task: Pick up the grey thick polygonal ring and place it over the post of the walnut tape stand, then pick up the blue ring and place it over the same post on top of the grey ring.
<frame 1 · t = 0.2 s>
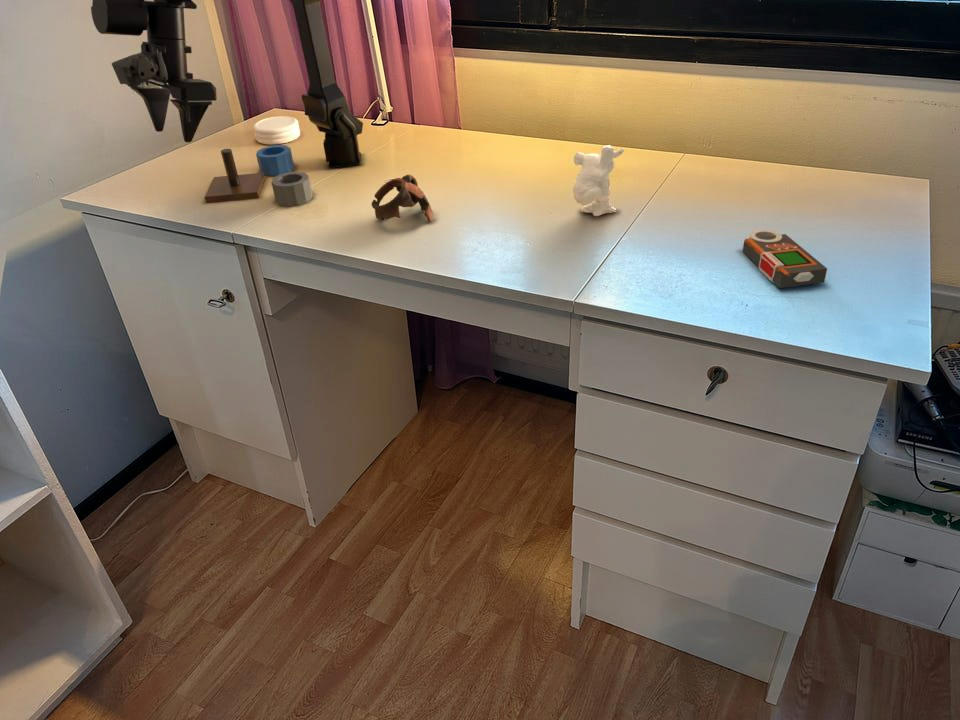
hand: (173, 136, 125), 15 cm above the table, tool pointing down, fingers open, 9 cm apart
brown looped band: (406, 218, 130), on the table
grey thick polygonal ring: (294, 198, 139), on the table
coaster: (278, 138, 168), on the table
electronic device: (777, 265, 110), on the table
blue ring: (277, 169, 152), on the table
tape stand: (236, 190, 144), on the table
koala figurine: (595, 212, 128), on the table
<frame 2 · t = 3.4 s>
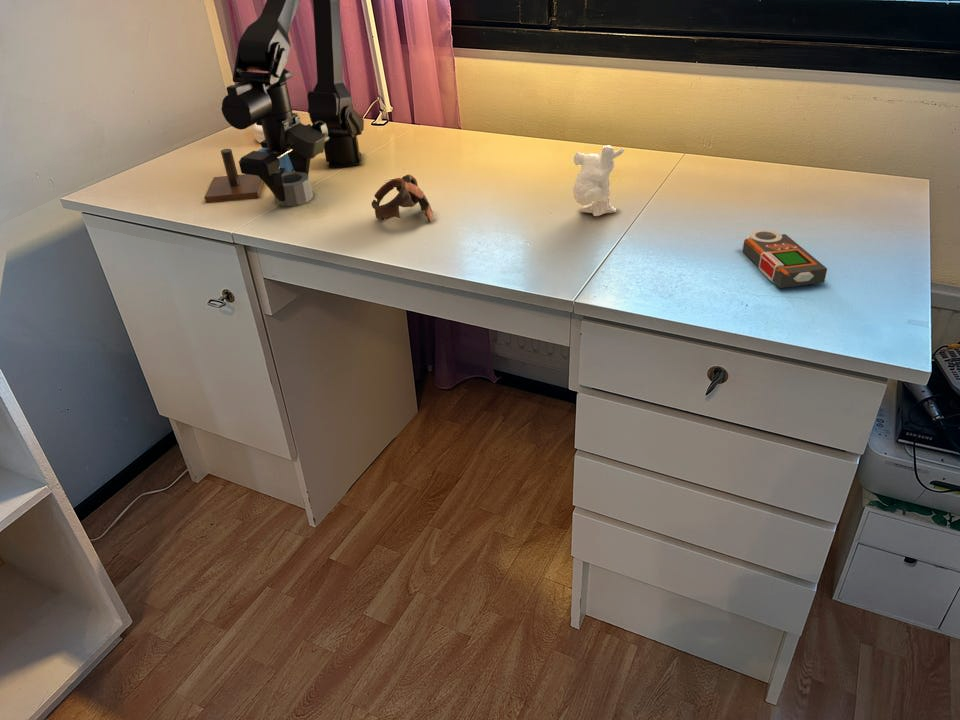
hand: (293, 193, 138), 1 cm above the table, tool pointing down, fingers closed on grey thick polygonal ring, 7 cm apart
grey thick polygonal ring: (294, 198, 139), on the table, touching gripper
everything else where it was.
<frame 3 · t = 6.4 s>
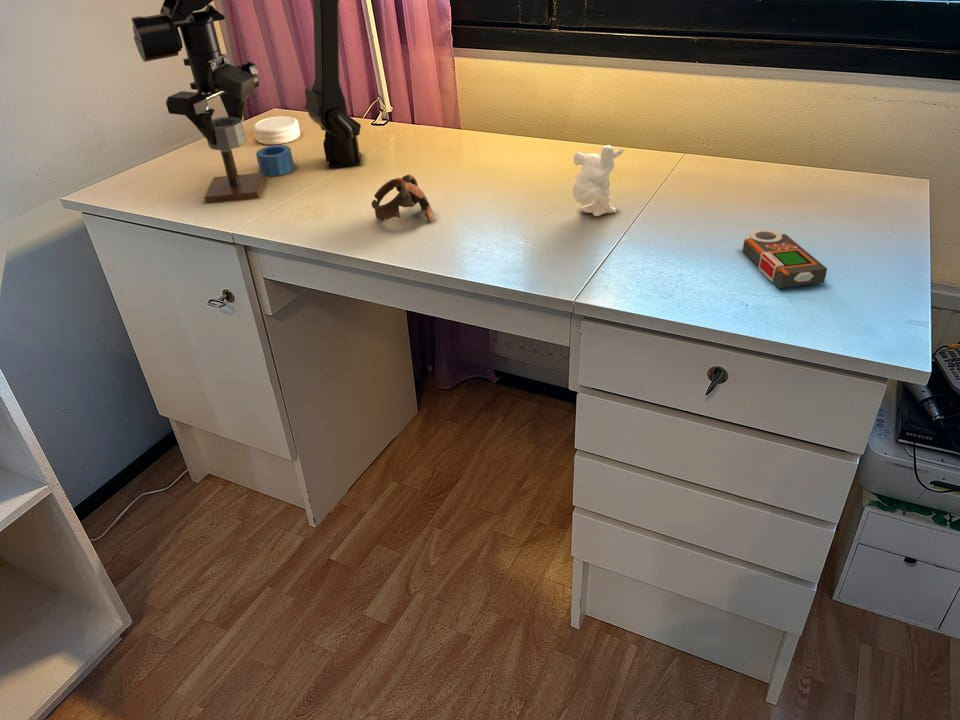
hand: (226, 138, 137), 10 cm above the table, tool pointing down, fingers closed on grey thick polygonal ring, 7 cm apart
grey thick polygonal ring: (227, 143, 138), point 9 cm above the table, touching gripper
everything else where it was.
when the fingers open (2 cm above the table, at t = 9.4 s): grey thick polygonal ring stays where it is, resting on tape stand.
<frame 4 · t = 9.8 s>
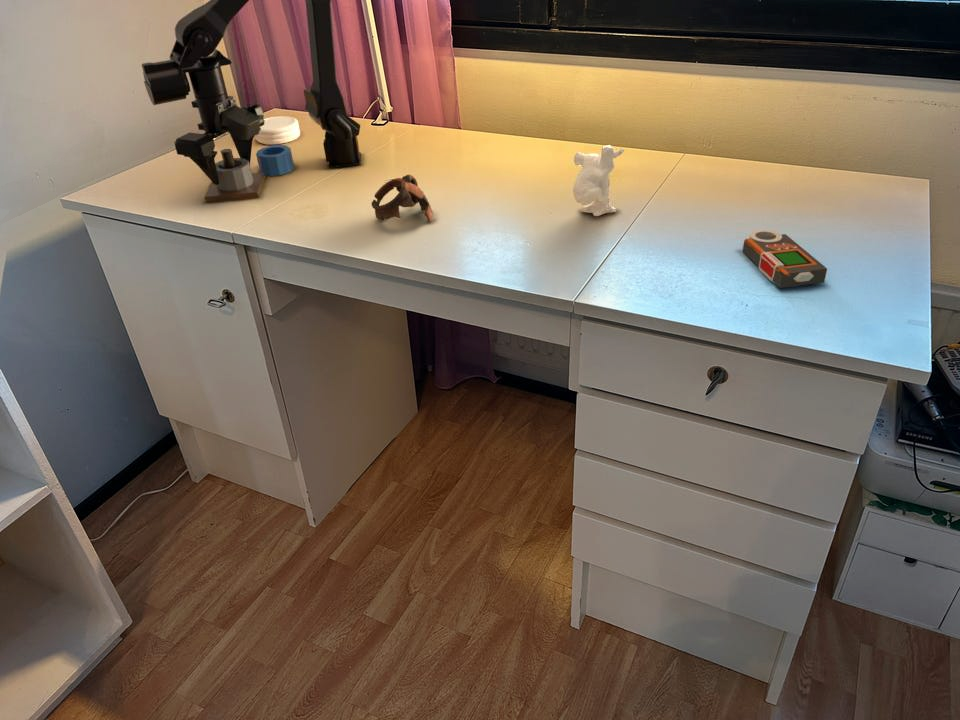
hand: (232, 175, 142), 3 cm above the table, tool pointing down, fingers open, 9 cm apart
grey thick polygonal ring: (235, 184, 143), point 1 cm above the table, touching tape stand
everything else where it was.
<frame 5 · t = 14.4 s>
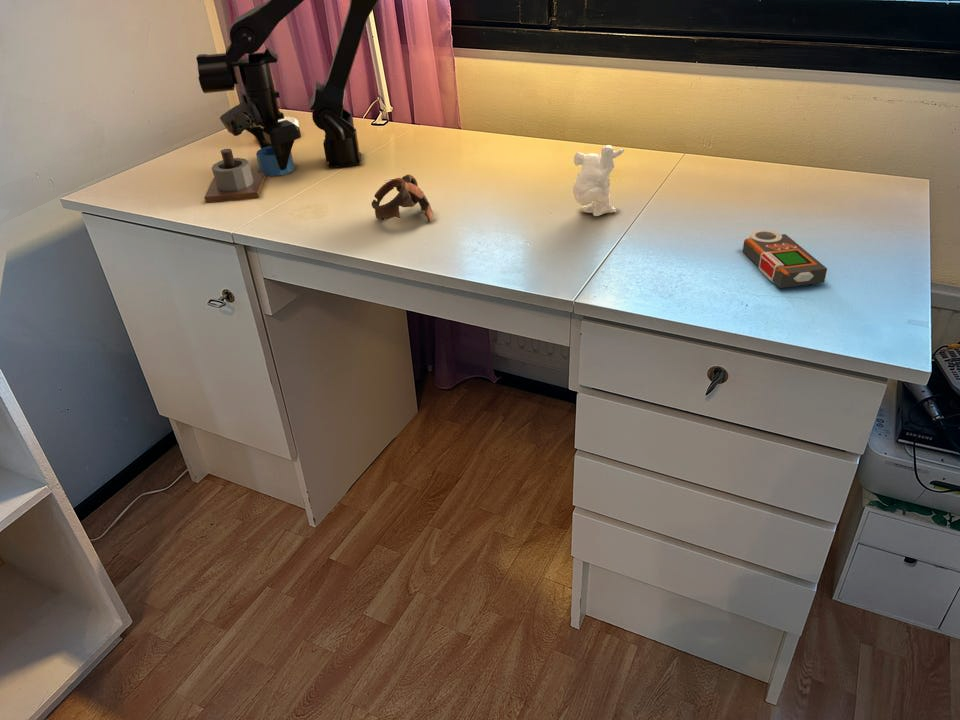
hand: (276, 164, 151), 1 cm above the table, tool pointing down, fingers closed on blue ring, 7 cm apart
blue ring: (277, 169, 151), on the table, touching gripper
everything else where it was.
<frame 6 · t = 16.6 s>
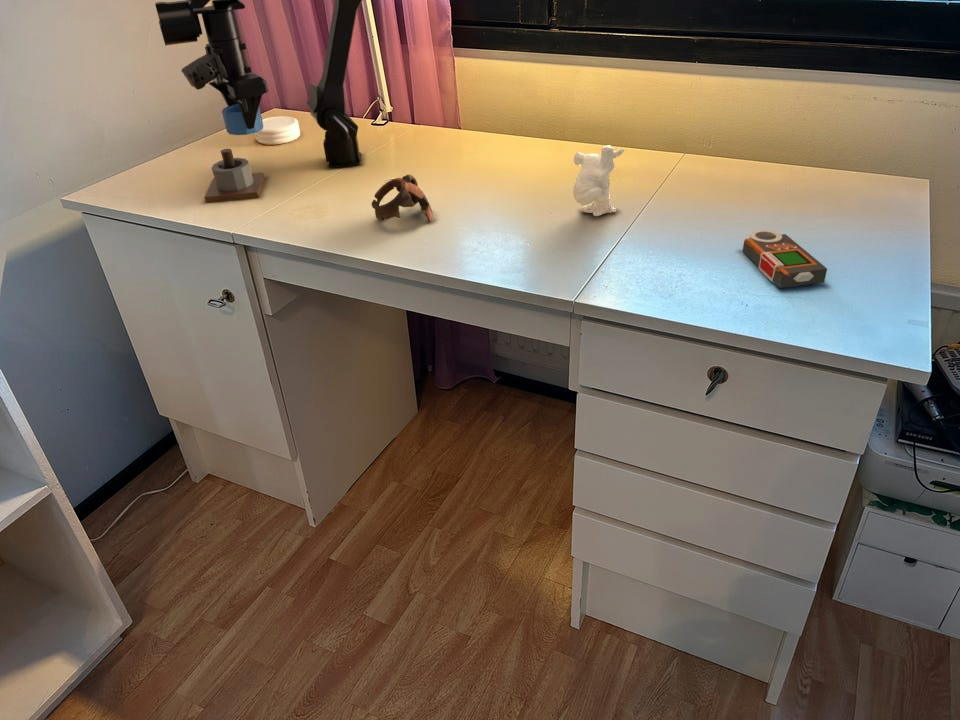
hand: (244, 123, 141), 11 cm above the table, tool pointing down, fingers closed on blue ring, 7 cm apart
blue ring: (245, 129, 142), point 10 cm above the table, touching gripper
everything else where it was.
when the fingers open (6 cm above the table, at t = 19.0 s): blue ring stays where it is, resting on grey thick polygonal ring.
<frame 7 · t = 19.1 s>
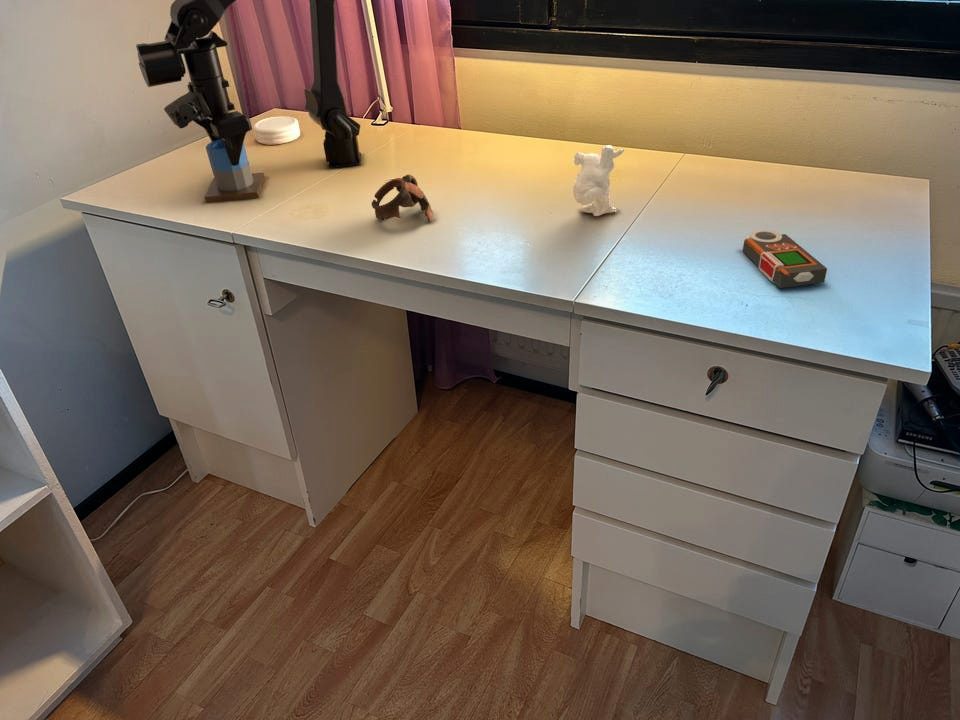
hand: (228, 159, 140), 6 cm above the table, tool pointing down, fingers open, 7 cm apart
grey thick polygonal ring: (235, 184, 143), point 1 cm above the table, touching blue ring, tape stand
blue ring: (229, 164, 141), point 5 cm above the table, touching grey thick polygonal ring
everything else where it was.
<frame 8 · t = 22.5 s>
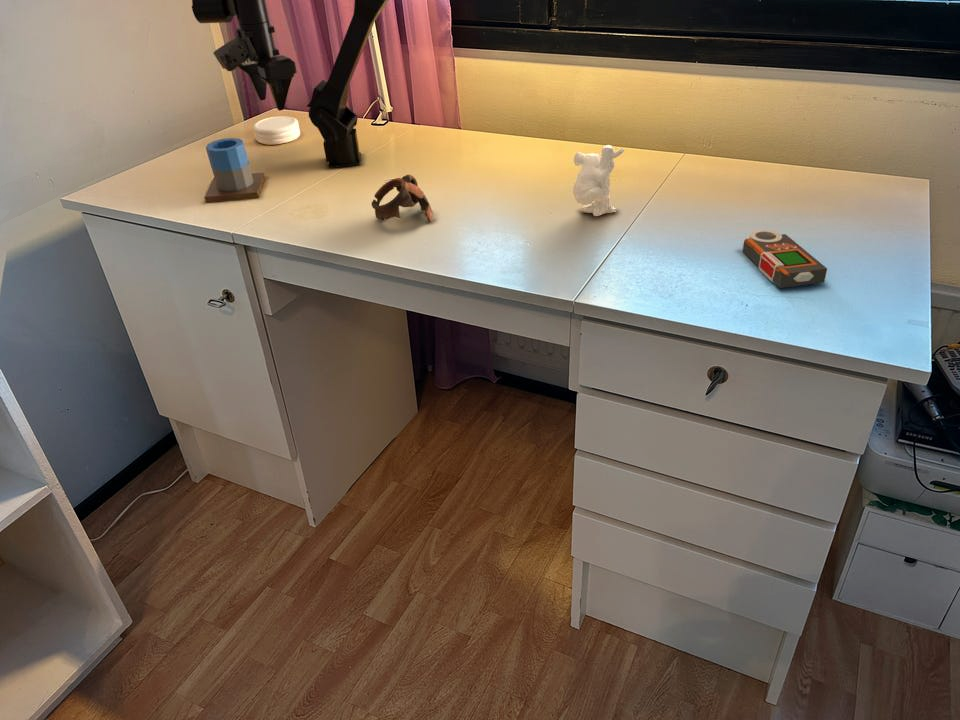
hand: (271, 104, 148), 12 cm above the table, tool pointing down, fingers open, 9 cm apart
nothing on the table moved.
at the end: grey thick polygonal ring 0.1 cm off-centre on the tape stand, point 1.2 cm above the tape stand's base; blue ring 0.0 cm off-centre on the tape stand, point 5.2 cm above the tape stand's base; blue ring tilted 0° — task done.
